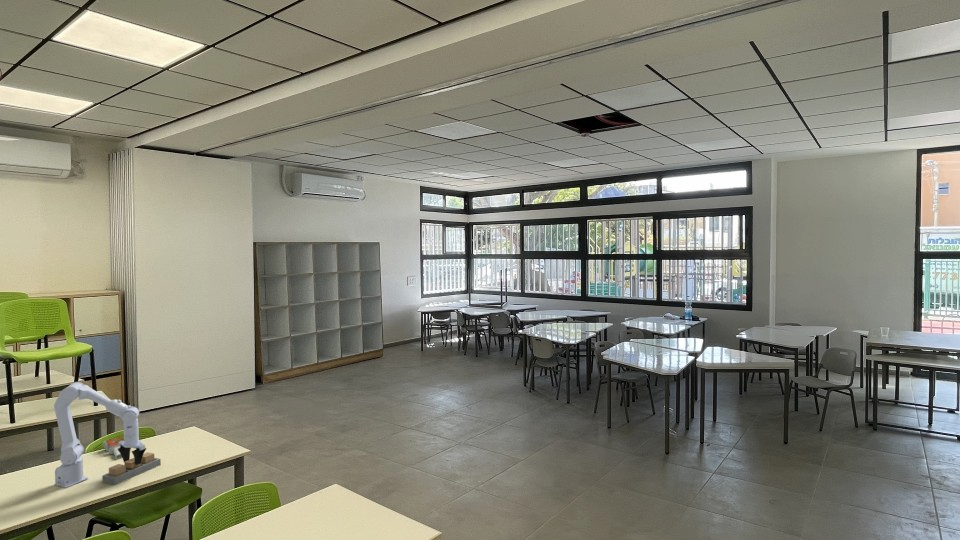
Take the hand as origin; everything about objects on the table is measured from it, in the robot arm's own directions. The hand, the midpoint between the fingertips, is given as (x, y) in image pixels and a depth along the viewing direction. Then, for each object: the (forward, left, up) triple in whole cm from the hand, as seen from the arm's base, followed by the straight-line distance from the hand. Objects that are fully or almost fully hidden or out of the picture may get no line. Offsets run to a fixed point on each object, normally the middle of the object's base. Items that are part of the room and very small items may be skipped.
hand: (132, 462), depth 240 cm
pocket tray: (0, 0, -5) cm, 5 cm away
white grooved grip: (+15, +32, -6) cm, 35 cm away
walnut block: (0, 0, -4) cm, 4 cm away
